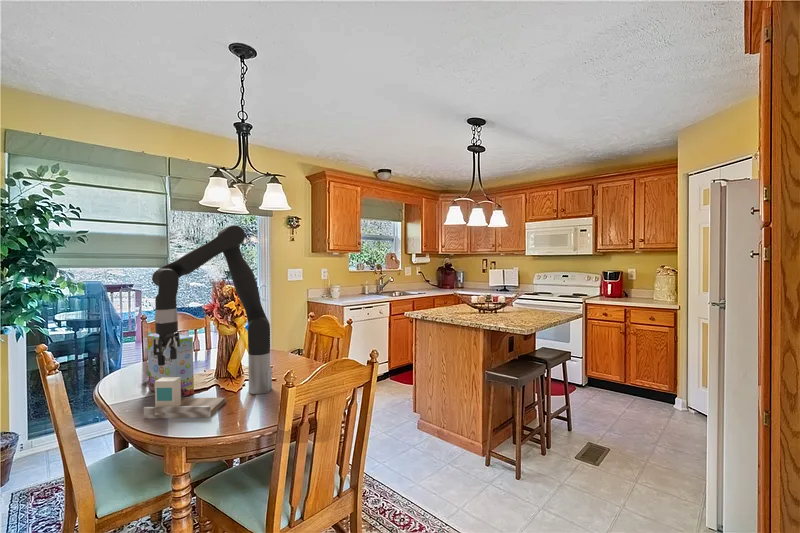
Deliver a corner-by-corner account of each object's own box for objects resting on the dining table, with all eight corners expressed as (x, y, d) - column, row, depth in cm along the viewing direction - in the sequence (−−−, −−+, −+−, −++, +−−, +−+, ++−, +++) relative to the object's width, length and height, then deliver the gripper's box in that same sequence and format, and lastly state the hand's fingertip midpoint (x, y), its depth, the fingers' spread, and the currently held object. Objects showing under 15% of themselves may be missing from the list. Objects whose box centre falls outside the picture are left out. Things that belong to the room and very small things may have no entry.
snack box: (146, 391, 173) (145, 334, 173) (165, 385, 181) (165, 331, 180) (176, 400, 163) (175, 339, 162) (195, 393, 171) (194, 335, 170)
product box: (162, 404, 152) (162, 377, 152) (180, 404, 153) (180, 377, 152) (155, 410, 147) (154, 381, 147) (174, 409, 148) (173, 381, 147)
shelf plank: (225, 402, 160) (225, 392, 160) (209, 417, 145) (209, 407, 145) (166, 403, 159) (165, 393, 159) (143, 418, 144) (143, 408, 144)
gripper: (166, 317, 156) (167, 357, 156) (145, 324, 142) (146, 367, 142) (185, 317, 156) (186, 357, 157) (166, 323, 142) (167, 367, 143)
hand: (167, 362), depth 149 cm, fingers open, 8 cm apart
